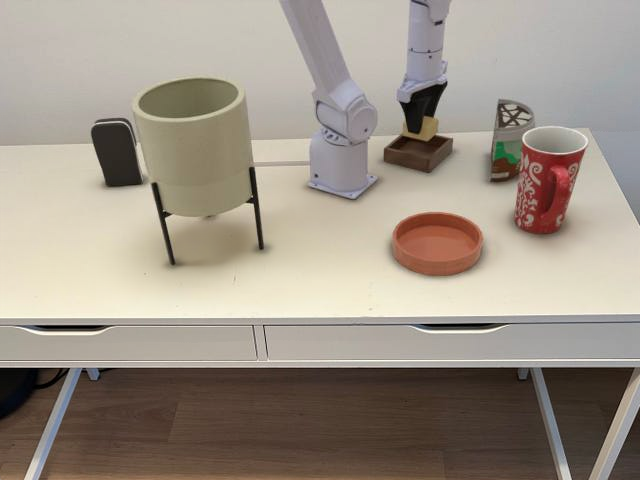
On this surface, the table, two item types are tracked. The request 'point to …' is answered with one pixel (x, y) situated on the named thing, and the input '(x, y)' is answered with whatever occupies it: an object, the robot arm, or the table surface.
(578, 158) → the mug
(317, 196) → the table surface
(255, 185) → the planter
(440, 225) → the bowl
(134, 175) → the battery charger
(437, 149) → the holder
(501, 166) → the food container
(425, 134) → the block
